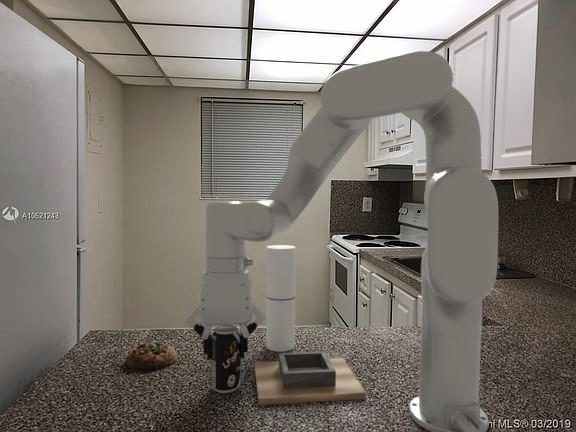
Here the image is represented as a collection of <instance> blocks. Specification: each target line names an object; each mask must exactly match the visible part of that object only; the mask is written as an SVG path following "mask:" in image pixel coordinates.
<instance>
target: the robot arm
mask: <svg viewBox="0 0 576 432" xmlns="http://www.w3.org/2000/svg"><path fill="white" fill-rule="evenodd" d="M453 81H454V74H453V70H452V67H451V65H450V63H449V61H447V59H446V57H444V56H442V55H441V54H439V53H436V52H434V51H429V50H417V51H412V52H407V53H403V54H399V55H398V54H397V55H395V56H391V57H388V58H387V57H386V58H383V59H378V60H374V61H369V62H366V63H365V62H364V63H360V64H356V65H354V66H350V67H347V68H343V69H340V70H338V71H336V72H335V73H333V74H332V75H330V76H329V77H328V78H327V79H326V81H325V83H324V84H323V85H322V88H321V91H320V95H319V96H320V105H321V106H320V107H319V109H318V110H317V112H316V113H315V114H314V116H313V117H312V118H311V120H309V122H308V123H307V125H306V126H305V127H304V129H303V130H302V131H301V133H299V135H298V137H297V138H296V139H295V140H294V142H293V143H292V144H291V147H290V149H289V153H288V161H287V166H286V169H285V172H284V174H283V175H282V177H281V179H280V180H279V182H278V184H277V185H276V186H275V188H274V189H273V190H272V191H271V193H270V194H269V195H268V197H267V198H266V199H263V200H254V201H253V200H252V201H246V202H241V201H238V200H237V201H236V200H215V201H210V202H209V203H207V205H206V207H205V270H203V271H202V274H201V277H200V278H201V279H200V284H199V285H200V286H199V287H200V288H199V296H198V297H199V298H198V305H197V306H196V307H195V308H193V310H192V311H191V312H190V313H189V315H187V317H186V319H185V323H186V324H187V325H188V326H189V327H191V329H193V330H194V331H195V332H196V333H197V334H198V335H199V336H200V337H201V338H202V339H201V340H203V355H206V361H211V336H212V334H211V330H212V328H213V326H222V325H238V326H239V329H240V332H241V333H240V336H241V337H240V357H241V360H242V359H245V354H246V353H249V351H248V350H249V349H248V348H249V345H248V344H249V342H248V341H249V337H250V336H251V334H252V333H253V332H254V331H256V329H257V328H258V327H259V326H260V325H261V324H262V323H263V322H264V321H266V317H265V316H266V315H265V314H264V313H263V312H262V311H261V310H260V309H259V308H258V307H257V306H256V305H255V304H254V303H253V298H252V297H253V294H252V292H253V291H252V281H251V275H250V272H249V270H248V269H246V268H248V267H250V266H253V265H254V264H253V263H254V259H253V258H249V257H247V256H246V241H249V242H252V243H253V242H255V243H263V242H267V241H271V240H272V239H274V238H277V237H279V236H282V235H283V234H285V233H286V232H287V231H288V230H289V229H290V228H291V226H292V225H293V224H294V223H295V222H296V220H297V219H298V218H299V217H300V216H301V214H302V213H303V212H304V211H305V210H306V208H307V207H308V205H309V204H310V202H311V201H312V199H313V198H314V197H315V195H316V193H318V191H319V189H321V187H322V186H323V184H324V183H326V180H327V178H328V177H329V175H330V174H331V173H332V171H333V170H334V169H335V167H336V166H337V165H338V163H339V162H340V161H341V160H342V158H343V157H345V156H344V155H346V153H347V152H348V151H349V149H350V148H352V146H353V145H354V143H355V142H356V141H357V140H358V138H359V137H360V136H361V134H362V133H363V132H364V131H365V130H366V129H367V127H368V126H369V124H370V123H371V121H372V120H373V119H375V118H379V117H381V118H382V117H385V116H386V117H387V116H391V115H396V114H397V115H398V114H400V113H401V114H402V115H403V116H405V117H406V118H409V119H411V120H413V121H415V122H417V124H418V125H419V126H420V127H421V129H422V130H423V132H424V138H425V157H426V159H425V161H426V163H425V164H426V165H425V188H424V189H425V190H424V194H423V195H424V196H423V203H424V207H425V210H426V212H427V244H426V246H425V248H424V250H423V252H422V257H421V263H420V264H421V265H420V276H421V277H420V279H421V309H420V310H421V312H420V314H421V316H420V338H419V339H420V342H419V343H420V344H419V346H420V348H419V351H420V352H419V384H418V396H416V397H414V398H412V399H411V401H409V411H408V412H409V415H410V417H411V418H412V420H413V421H414V422H415V423H416V424H417V425H419V426H420V427H421V428H423V429H425V430H427V431H428V432H487V431H488V429H489V421H490V420H489V416H488V414H487V413H486V412H485V411H484V410H483V408H481V405H480V404H479V402H480V401H479V400H480V372H481V346H482V340H481V339H482V331H483V330H482V328H483V327H482V325H483V304H482V300H484V299H485V298H486V297H487V296H488V295H489V294H490V292H491V291H492V290H493V288H494V286H495V282H496V279H497V274H498V263H499V262H498V259H499V258H498V257H499V256H498V255H499V201H498V200H499V199H498V194H497V191H496V188H495V186H494V183H493V182H492V181H491V178H489V177H488V175H486V174H485V173H484V172H482V170H483V169H482V168H483V167H482V138H481V125H480V121H479V118H478V115H477V112H476V110H475V109H474V107H473V105H472V104H471V103H470V101H469V100H468V98H466V97H465V96H464V95H463V93H461V91H460V90H458V89H456V88H455V87H453V83H454V82H453ZM253 315H254V317H255V318H254V319H253V320H252V318H253ZM197 317H198V320H199V322H198V321H197V320H196V318H197Z"/></svg>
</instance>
